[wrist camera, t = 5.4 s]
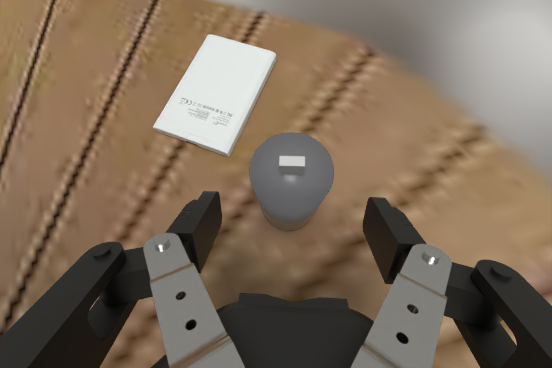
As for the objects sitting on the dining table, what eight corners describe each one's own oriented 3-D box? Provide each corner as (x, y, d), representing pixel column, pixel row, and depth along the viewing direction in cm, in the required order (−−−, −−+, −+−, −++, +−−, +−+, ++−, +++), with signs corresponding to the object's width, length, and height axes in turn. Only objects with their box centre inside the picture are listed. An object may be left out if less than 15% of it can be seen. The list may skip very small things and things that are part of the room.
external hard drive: (276, 64, 26) (230, 160, 23) (211, 45, 27) (158, 134, 24) (276, 52, 25) (226, 152, 21) (207, 32, 26) (150, 125, 22)
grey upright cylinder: (262, 230, 20) (241, 205, 10) (265, 181, 21) (249, 119, 12) (313, 232, 20) (341, 208, 10) (313, 183, 21) (337, 121, 12)
